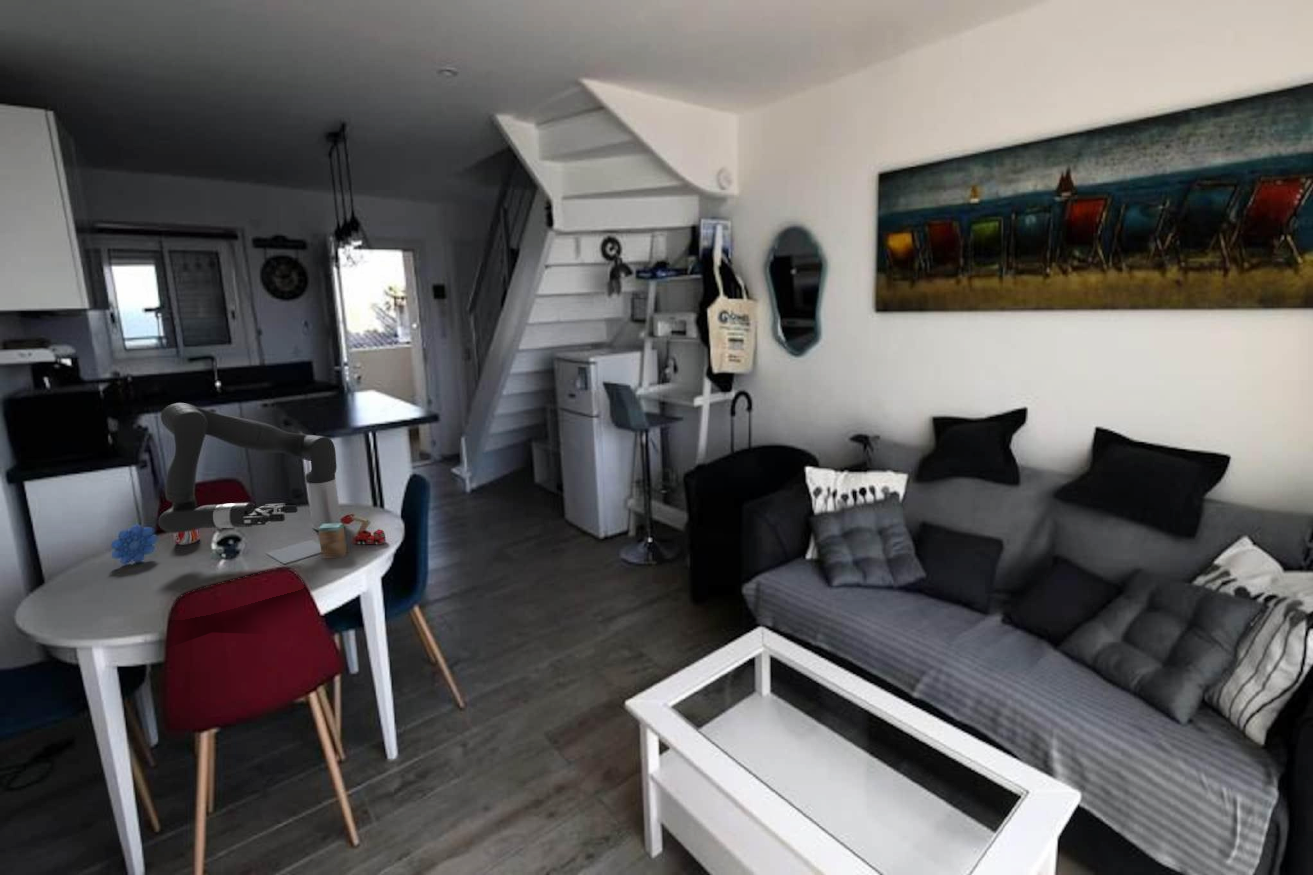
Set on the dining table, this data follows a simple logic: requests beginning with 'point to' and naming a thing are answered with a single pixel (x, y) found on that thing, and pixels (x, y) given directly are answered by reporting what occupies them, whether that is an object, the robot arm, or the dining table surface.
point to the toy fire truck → (364, 531)
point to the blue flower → (133, 544)
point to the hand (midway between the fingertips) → (290, 513)
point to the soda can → (186, 537)
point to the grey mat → (296, 552)
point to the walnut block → (332, 540)
